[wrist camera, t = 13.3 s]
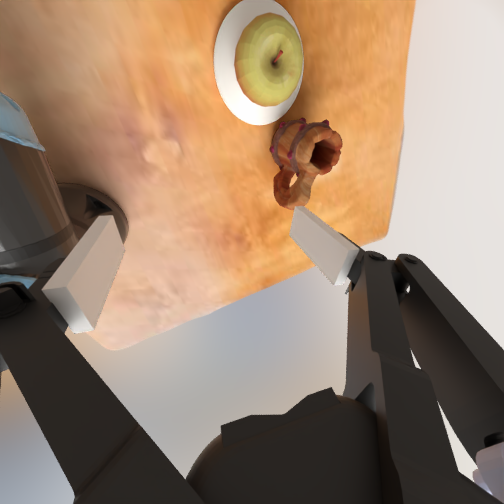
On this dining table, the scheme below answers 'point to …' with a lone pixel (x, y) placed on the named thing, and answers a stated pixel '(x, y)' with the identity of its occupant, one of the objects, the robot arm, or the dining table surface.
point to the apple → (268, 60)
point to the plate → (228, 36)
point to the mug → (302, 158)
